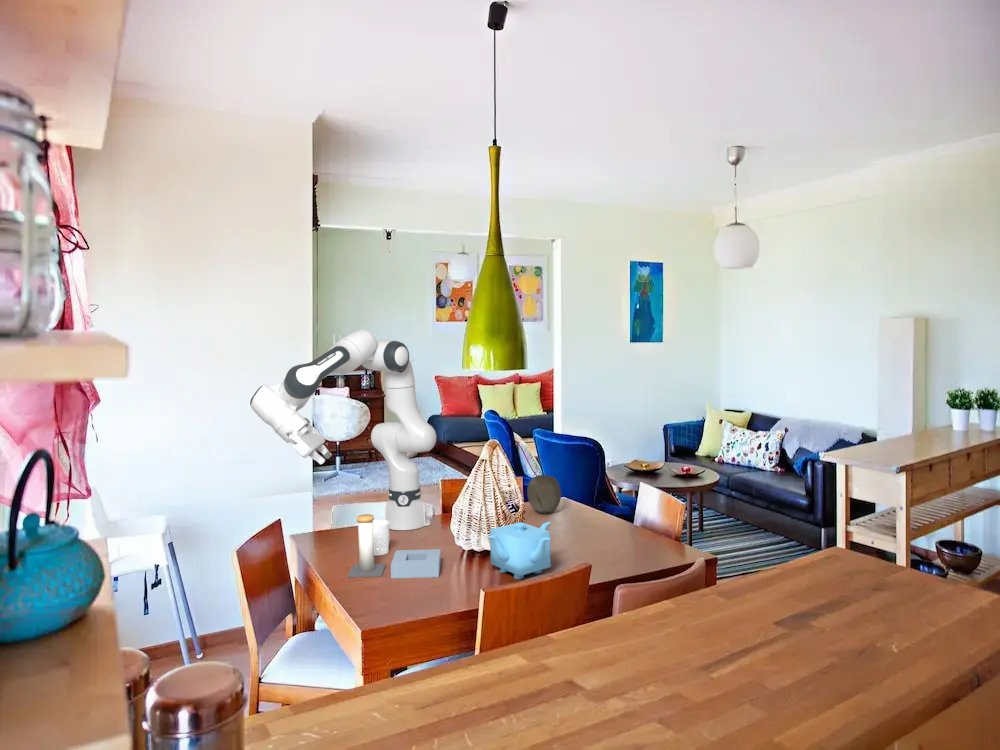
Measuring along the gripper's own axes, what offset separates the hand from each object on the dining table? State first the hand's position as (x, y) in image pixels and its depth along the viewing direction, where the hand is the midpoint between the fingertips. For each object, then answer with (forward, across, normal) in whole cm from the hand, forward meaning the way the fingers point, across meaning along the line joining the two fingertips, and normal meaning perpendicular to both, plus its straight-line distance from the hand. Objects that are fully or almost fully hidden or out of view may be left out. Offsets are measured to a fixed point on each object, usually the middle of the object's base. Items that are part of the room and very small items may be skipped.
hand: (326, 459), depth 214 cm
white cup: (+33, +12, +14) cm, 38 cm away
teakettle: (+66, -11, -18) cm, 69 cm away
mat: (+32, -6, +15) cm, 36 cm away
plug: (+32, -6, +14) cm, 35 cm away
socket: (+43, -6, +4) cm, 44 cm away
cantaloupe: (+76, +58, -28) cm, 99 cm away
